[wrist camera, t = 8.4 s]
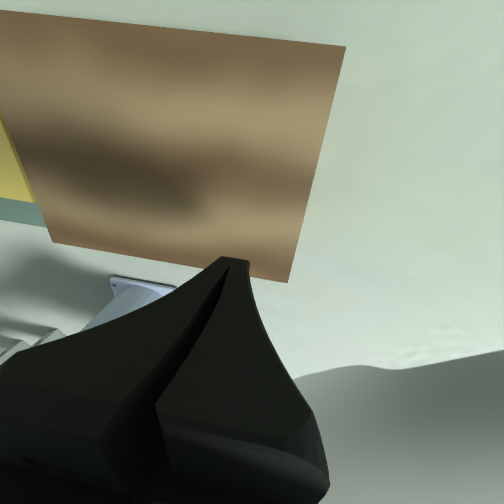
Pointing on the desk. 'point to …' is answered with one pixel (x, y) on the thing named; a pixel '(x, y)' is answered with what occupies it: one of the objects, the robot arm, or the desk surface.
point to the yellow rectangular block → (12, 169)
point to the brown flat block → (167, 136)
